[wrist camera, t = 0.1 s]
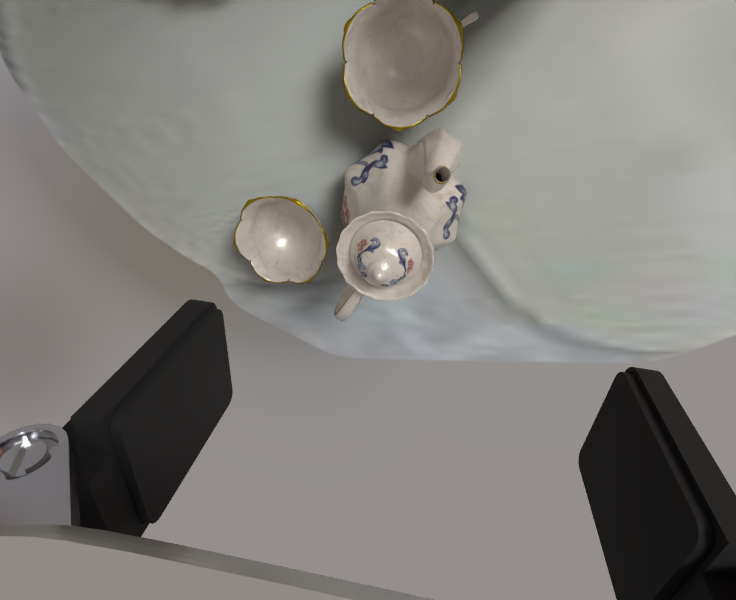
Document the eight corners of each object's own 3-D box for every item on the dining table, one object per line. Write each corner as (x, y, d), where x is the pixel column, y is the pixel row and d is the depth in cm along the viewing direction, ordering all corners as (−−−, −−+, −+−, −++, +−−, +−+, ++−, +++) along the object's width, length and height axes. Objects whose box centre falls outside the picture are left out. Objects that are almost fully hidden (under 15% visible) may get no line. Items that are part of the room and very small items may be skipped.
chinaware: (389, -49, 33) (303, -135, 19) (570, 82, 34) (621, 95, 19) (252, 240, 47) (145, 316, 33) (381, 327, 48) (331, 437, 34)
